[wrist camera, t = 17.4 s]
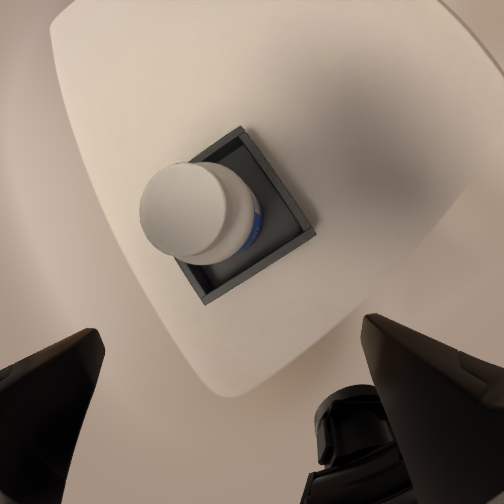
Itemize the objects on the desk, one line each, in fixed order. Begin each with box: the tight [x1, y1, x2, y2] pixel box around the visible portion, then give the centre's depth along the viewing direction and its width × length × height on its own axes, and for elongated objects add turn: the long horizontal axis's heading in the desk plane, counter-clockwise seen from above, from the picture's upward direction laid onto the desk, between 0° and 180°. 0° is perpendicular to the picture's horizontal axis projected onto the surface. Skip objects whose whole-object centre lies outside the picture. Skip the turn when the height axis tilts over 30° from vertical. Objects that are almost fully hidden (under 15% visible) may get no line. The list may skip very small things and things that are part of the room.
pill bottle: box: [140, 162, 263, 265], centre depth 16 cm, size 6×5×10 cm
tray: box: [173, 126, 317, 305], centre depth 20 cm, size 9×9×3 cm
